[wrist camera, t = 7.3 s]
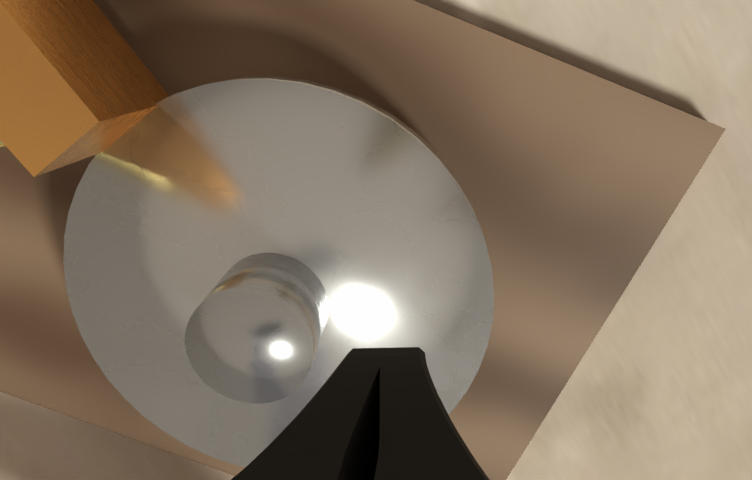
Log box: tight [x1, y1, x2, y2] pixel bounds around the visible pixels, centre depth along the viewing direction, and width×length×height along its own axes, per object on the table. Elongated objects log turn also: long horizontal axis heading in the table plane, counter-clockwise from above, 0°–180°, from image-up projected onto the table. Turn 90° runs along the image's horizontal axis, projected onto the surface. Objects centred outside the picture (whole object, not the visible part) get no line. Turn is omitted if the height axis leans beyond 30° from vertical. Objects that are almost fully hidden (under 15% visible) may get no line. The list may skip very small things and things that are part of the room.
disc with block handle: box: [0, 0, 494, 467], centre depth 16 cm, size 18×14×4 cm
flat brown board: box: [0, 0, 725, 480], centre depth 20 cm, size 20×22×2 cm
